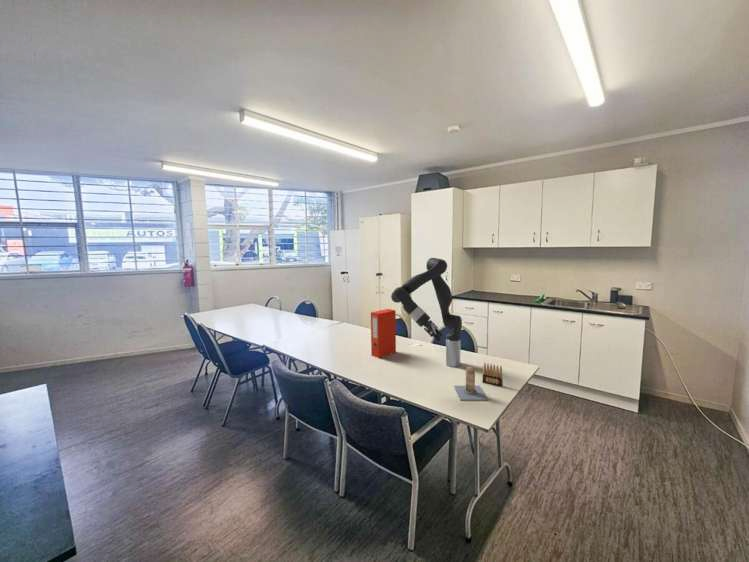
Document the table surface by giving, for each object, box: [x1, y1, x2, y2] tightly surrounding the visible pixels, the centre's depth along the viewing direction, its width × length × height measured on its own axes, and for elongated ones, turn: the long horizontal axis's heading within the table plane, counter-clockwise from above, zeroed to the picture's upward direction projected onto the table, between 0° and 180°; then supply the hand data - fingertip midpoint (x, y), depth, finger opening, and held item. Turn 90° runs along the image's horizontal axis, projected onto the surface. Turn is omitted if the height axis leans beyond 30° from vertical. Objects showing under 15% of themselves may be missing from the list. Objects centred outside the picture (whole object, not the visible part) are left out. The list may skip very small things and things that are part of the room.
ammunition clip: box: [482, 362, 504, 388], centre depth 179 cm, size 11×2×12 cm, turn 54°
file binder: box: [370, 308, 397, 359], centre depth 231 cm, size 8×17×32 cm, turn 132°
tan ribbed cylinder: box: [464, 366, 476, 395], centre depth 168 cm, size 6×6×13 cm
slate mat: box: [453, 385, 489, 402], centre depth 169 cm, size 16×14×1 cm
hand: (440, 338), depth 172 cm, fingers open, 8 cm apart
